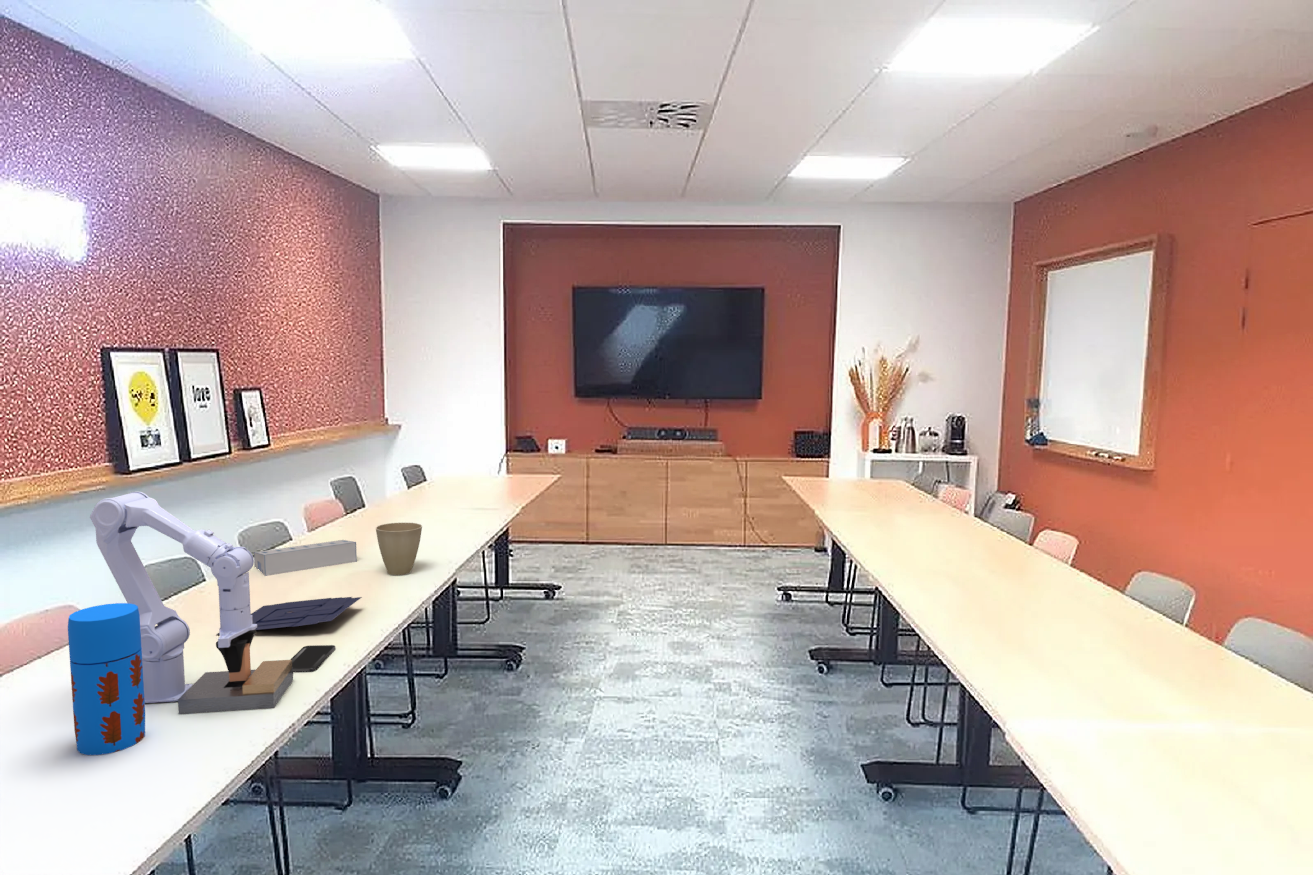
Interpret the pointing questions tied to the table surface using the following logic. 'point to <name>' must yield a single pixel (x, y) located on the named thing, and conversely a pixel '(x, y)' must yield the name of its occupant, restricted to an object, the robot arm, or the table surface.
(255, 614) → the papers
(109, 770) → the table surface
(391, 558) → the plant pot
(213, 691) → the bracket plate
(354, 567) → the table surface
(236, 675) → the light brown rectangular block
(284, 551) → the warehouse
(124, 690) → the thermos
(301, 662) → the phone
